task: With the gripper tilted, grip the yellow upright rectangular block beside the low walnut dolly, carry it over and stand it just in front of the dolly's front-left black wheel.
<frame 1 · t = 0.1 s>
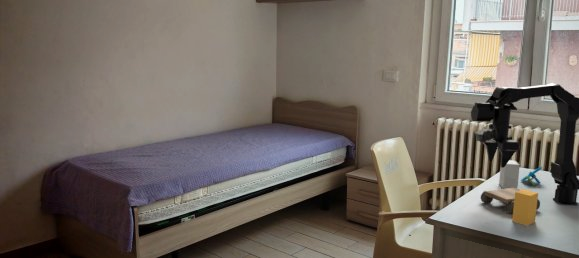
hand: (496, 164, 182), 15 cm above the table, tool pointing down, fingers open, 9 cm apart
yellow upright rectangular block: (523, 221, 165), on the table
small box: (507, 187, 205), on the table
dolly: (509, 206, 180), on the table
blue angled frame: (530, 183, 212), on the table
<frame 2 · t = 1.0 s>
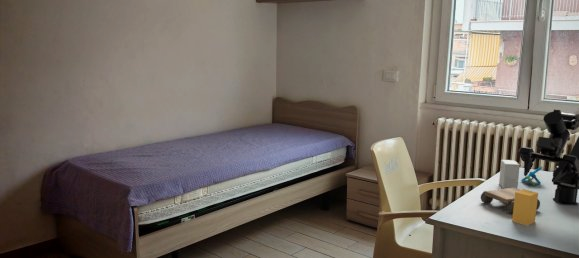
hand: (538, 178, 168), 13 cm above the table, tool tilted 45°, fingers open, 9 cm apart
nothing on the table moved.
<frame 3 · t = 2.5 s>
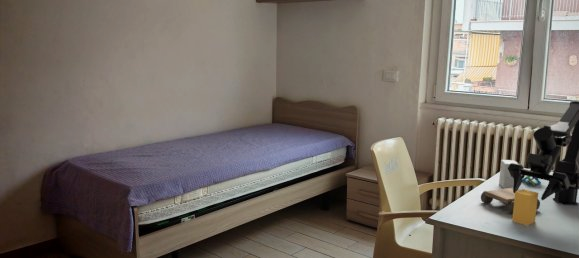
hand: (527, 196, 164), 9 cm above the table, tool tilted 45°, fingers open, 9 cm apart
nothing on the table moved.
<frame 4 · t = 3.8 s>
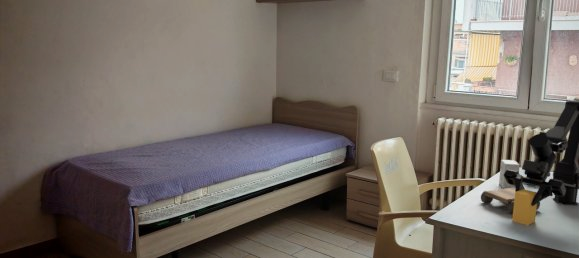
hand: (523, 203, 163), 7 cm above the table, tool tilted 45°, fingers closed on yellow upright rectangular block, 5 cm apart
yellow upright rectangular block: (523, 221, 165), on the table, touching gripper
everything else where it was.
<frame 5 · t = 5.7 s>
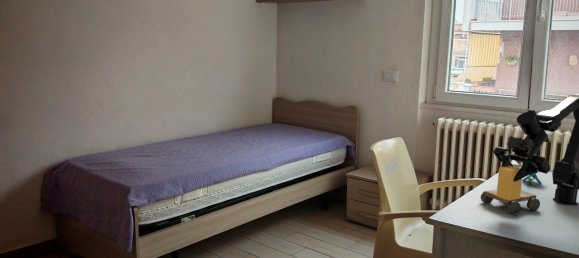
hand: (507, 178, 166), 14 cm above the table, tool tilted 45°, fingers closed on yellow upright rectangular block, 5 cm apart
yellow upright rectangular block: (508, 197, 168), point 7 cm above the table, touching gripper
everything else where it was.
when the fingers open (8 cm above the table, at t = 7.6 s): yellow upright rectangular block drops 1 cm, on the table.
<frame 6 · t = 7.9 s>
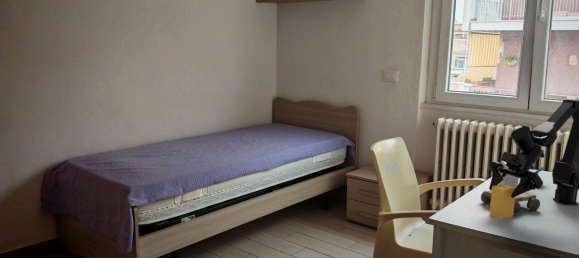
hand: (500, 193, 169), 8 cm above the table, tool tilted 45°, fingers open, 9 cm apart
yellow upright rectangular block: (501, 215, 171), on the table
everything else where it was.
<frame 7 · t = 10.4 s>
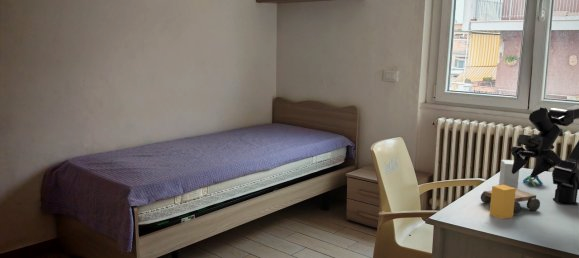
hand: (521, 175, 173), 13 cm above the table, tool tilted 40°, fingers open, 9 cm apart
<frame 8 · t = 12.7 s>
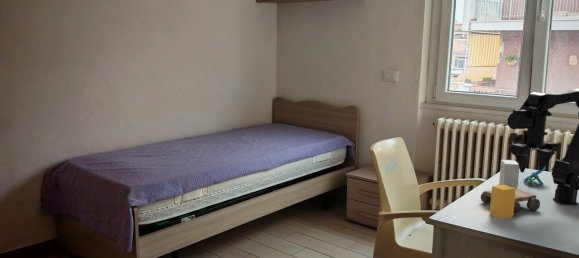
hand: (531, 171, 179), 13 cm above the table, tool pointing down, fingers open, 9 cm apart
at the end: yellow upright rectangular block 0.0 cm from the target spot on the table beside the dolly, on the table; yellow upright rectangular block tilted 0°; the gripper is holding nothing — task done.
